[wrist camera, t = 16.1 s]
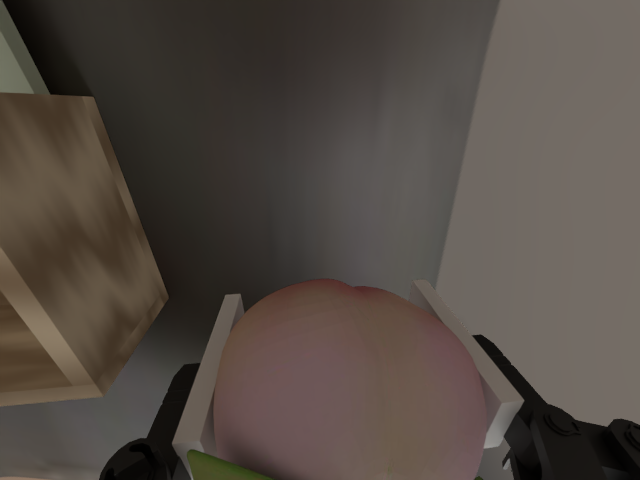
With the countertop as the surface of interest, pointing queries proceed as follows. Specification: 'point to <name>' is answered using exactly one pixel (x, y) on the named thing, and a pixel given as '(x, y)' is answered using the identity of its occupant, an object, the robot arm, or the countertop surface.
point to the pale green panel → (16, 61)
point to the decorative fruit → (343, 392)
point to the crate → (67, 253)
